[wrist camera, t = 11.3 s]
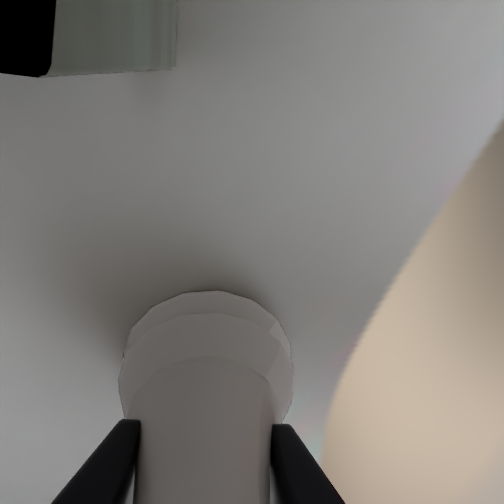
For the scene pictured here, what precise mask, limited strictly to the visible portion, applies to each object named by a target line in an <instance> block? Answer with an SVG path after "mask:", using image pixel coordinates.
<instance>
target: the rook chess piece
mask: <svg viewBox="0 0 504 504" xmlns="http://www.w3.org/2000/svg"><path fill="white" fill-rule="evenodd" d="M123 358H124V361H123V364H122V368H121V371H120V374H119V377H118V388H119V395H120V399H121V404H122V408H123V413H124V417H125V418H126V419H138V420H140V432H139V441H138V448H137V454H136V461H135V475H134V491H133V504H270V469H271V436H272V425H273V424H282V420H283V418H284V417H285V415H286V413H287V411H288V409H289V407H290V405H291V402H292V395H293V365H292V363H291V361H290V342H289V340H288V338H287V336H286V334H285V332H284V330H283V328H282V326H281V324H280V322H279V321H278V319H277V318H276V317H274V316H273V315H272V314H271V313H269V312H268V311H267V310H265V309H264V308H263V307H261V306H260V305H259V304H258V303H256V302H255V301H254V300H251V299H248V298H244V297H241V296H237V295H234V294H230V293H227V292H223V291H220V290H218V291H203V292H187V293H182V294H180V295H177V296H175V297H173V298H171V299H168V300H166V301H164V302H162V303H159V304H157V305H155V306H152V307H151V308H150V310H149V311H148V312H147V313H146V314H145V315H144V316H143V317H142V318H141V319H140V320H139V321H138V322H137V323H136V324H135V325H134V326H133V327H132V328H131V331H130V334H129V337H128V340H127V344H126V347H125V350H124V354H123Z"/></svg>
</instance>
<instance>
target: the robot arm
mask: <svg viewBox="0 0 504 504" xmlns="http://www.w3.org/2000/svg"><path fill="white" fill-rule="evenodd" d="M139 432H140V420H138V419H122V420H120V421H119V422H118V423H117V424H116V426H115V427H114V428H113V429H112V430H111V432H110V433H109V434H108V435H107V436H106V438H105V439H104V440H103V441H102V443H101V444H100V445H99V446H98V447H97V449H96V450H95V451H94V452H93V453H92V455H91V456H90V457H89V458H88V459H87V461H86V462H85V463H84V464H83V465H82V467H81V468H80V469H79V470H78V471H77V473H76V474H75V475H74V476H73V478H72V479H71V480H70V481H69V482H68V484H67V485H66V486H65V487H64V488H63V490H62V491H61V492H60V493H59V494H58V496H57V497H56V498H55V499H54V500H53V502H52V503H51V504H133V491H134V475H135V461H136V454H137V448H138V441H139ZM270 504H345V502H344V501H343V500H342V498H341V497H340V495H339V494H338V492H337V491H336V489H335V488H334V487H333V485H332V484H331V482H330V481H329V480H328V478H327V477H326V475H325V474H324V472H323V471H322V469H321V468H320V466H319V465H318V464H317V462H316V461H315V459H314V458H313V456H312V455H311V454H310V452H309V451H308V449H307V448H306V446H305V445H304V443H303V442H302V441H301V439H300V438H299V436H298V435H297V433H296V432H295V431H294V429H293V428H292V426H290V425H289V424H273V425H272V436H271V469H270Z"/></svg>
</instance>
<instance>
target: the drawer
mask: <svg viewBox="0 0 504 504" xmlns="http://www.w3.org/2000/svg"><path fill="white" fill-rule="evenodd" d="M177 1H178V0H0V73H5V74H13V75H21V76H29V77H37V78H39V77H55V76H71V75H88V74H104V73H120V72H136V71H153V70H169V69H174V68H175V60H176V31H177Z"/></svg>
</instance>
